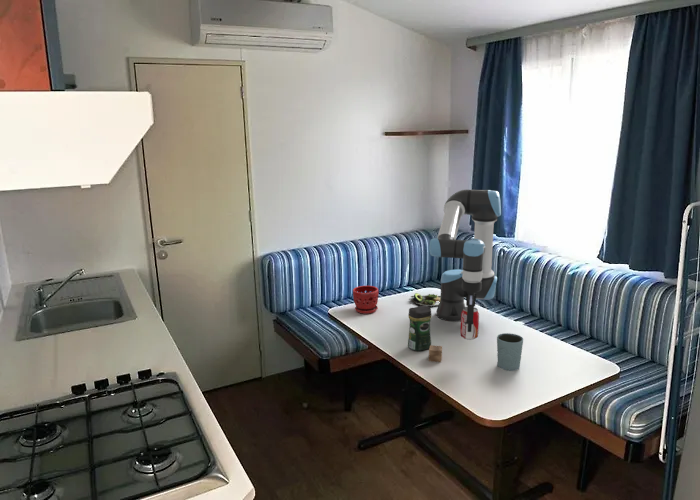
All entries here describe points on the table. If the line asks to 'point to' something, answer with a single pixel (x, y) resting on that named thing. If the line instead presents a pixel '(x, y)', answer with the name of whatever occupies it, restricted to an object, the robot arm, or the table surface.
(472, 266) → the robot arm
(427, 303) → the salad plate
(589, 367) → the table surface
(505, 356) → the blue cup
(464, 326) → the soda can
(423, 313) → the coffee jar
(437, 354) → the cardboard box
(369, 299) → the plant pot
